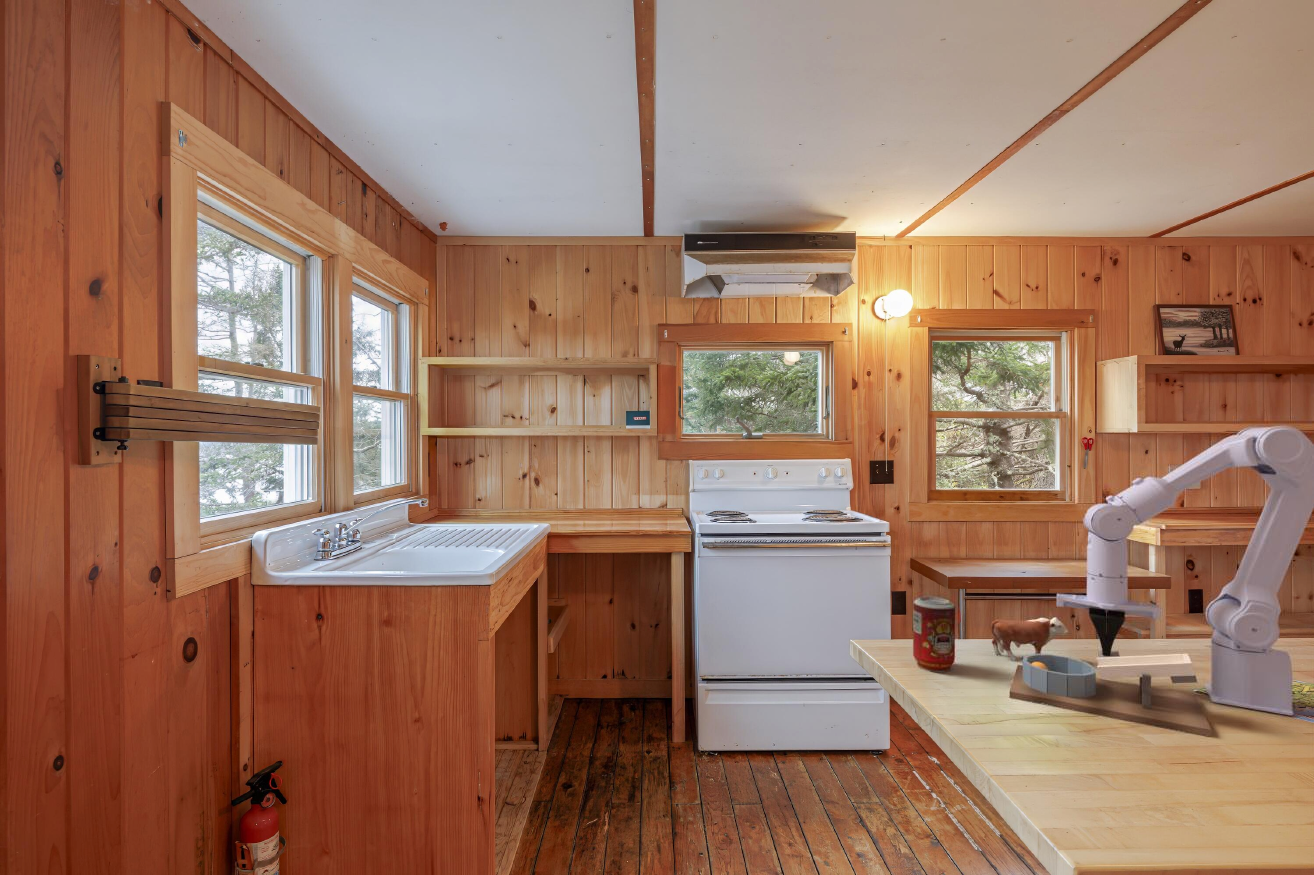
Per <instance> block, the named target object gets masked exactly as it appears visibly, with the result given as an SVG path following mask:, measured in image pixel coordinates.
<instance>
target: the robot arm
mask: <svg viewBox="0 0 1314 875" xmlns="http://www.w3.org/2000/svg"><path fill="white" fill-rule="evenodd" d="M1242 467H1243V468H1244V467H1250V468H1251V469H1252V470H1254V471H1255V472H1258V475H1260V477H1261V479H1263V481H1264V482H1265V483H1266V484H1267V485H1268V487H1269V488H1270V491H1269V494H1268V497H1267V500H1266V502H1265V504H1264V507H1263V508H1262V512H1261V514H1260V516H1259V518H1258V521H1257V522H1256V523H1257V524H1256V526H1255V528H1254V530H1253V533H1252V535H1251V538H1250V540H1249V543H1248V545H1247V547H1246V550H1245V552H1244V555H1243V557H1242V559H1241V562H1240V564H1239V567H1238V569H1237V571H1236V574H1235V576H1234V577H1233V578H1234V579H1232V581H1230V582H1228V583H1227V584H1226V585H1225V586H1223V587H1222V589H1221V592H1220V594H1218V596H1217V597H1216V598H1215V599H1213V600H1212V601H1210V602H1209V603H1208V605H1207V606H1206V608H1205V620H1206V622H1207V623H1208V624H1209V626H1210V627H1211V628H1212V629H1213V630H1214V631H1213V633H1212V635H1211V636H1210V637H1211V638H1210V639H1211V641H1210V642H1211V643H1210V644H1211V645H1210V646H1211V647H1210V648H1211V650H1210V654H1211V655H1210V657H1211V658H1210V661H1211V662H1210V668H1211V670H1210V677H1211V678H1210V681H1211V682H1210V684H1209V683H1208V684H1207V683H1206V684H1204V689H1205V690H1206V693H1207V695H1208V696H1209V698H1210V700H1211V702H1213V703H1217V704H1223V705H1228V706H1233V707H1240V708H1246V709H1252V710H1257V711H1263V712H1269V713H1274V714H1281V715H1284V716H1285V715H1286V716H1294V711H1293V666H1292V660H1291V656H1290V654H1289V653H1288V652H1287V651H1285V650H1280V649H1275V648H1272V646H1274V644H1276V643H1277V641H1278V639H1279V636H1280V626H1279V617H1280V614H1281V612H1282V611H1281V605H1280V602H1279V601H1280V600H1279V599H1278V598H1279V597H1278V592H1279V590H1280V587H1281V586H1282V583H1283V580H1284V578H1285V576H1286V574H1287V571H1288V569H1289V567H1290V564H1291V562H1292V560H1293V557H1294V555H1295V553H1296V550H1297V548H1298V546H1299V543H1300V541H1301V538H1302V536H1303V533H1304V531H1305V529H1306V527H1307V524H1308V522H1309V520H1310V517H1311V515H1312V513H1313V511H1314V443H1313V441H1311V440H1310V438H1308V436H1307V435H1306V434H1305V433H1303V432H1302V431H1301V430H1300V429H1297V428H1296V427H1293V426H1289V425H1277V426H1270V427H1269V426H1267V427H1266V426H1265V427H1264V426H1263V427H1262V426H1250V427H1247V428H1244V429H1242V430H1240V431H1239V432H1238V433H1236V434H1233V435H1230V436H1228V437H1225V438H1223V439H1221V440H1220V441H1218V442H1217V443H1215V444H1214V445H1211V446H1210V447H1209V448H1207V449H1205V450H1204V451H1203V452H1201V453H1199V454H1198V455H1196V456H1194V457H1193V458H1191V459H1189V460H1188V461H1186V462H1185V463H1183V464H1181V465H1180V466H1179V467H1177V468H1175V469H1174V470H1172V471H1171V472H1170V473H1167V474H1165V475H1164V476H1162V477H1160V478H1159V477H1155V476H1147V477H1145V478H1141V477H1137V478H1135V479H1134V480H1132V481H1131V483H1132V484H1133V485H1132V486H1130V487H1127V488H1126V489H1124V490H1123V491H1121V492H1119V493H1117V494H1116V495H1114V496H1113V495H1108V496H1106V498H1105V500H1106V502H1107V503H1097V504H1094V505H1092V506H1090V508H1088V509H1087V511H1086V513H1085V515H1084V517H1083V518H1082V522H1083V525H1084V527H1085V528H1086V530H1087V531H1088V532H1087V546H1086V595H1083V594H1066V593H1056V607H1059V608H1064V607H1067V608H1073V609H1074V608H1075V609H1080V610H1088V616H1089V618H1090V621H1091V622H1092V625H1093V626H1094V629H1095V631H1096V634H1097V637H1098V639H1099V642H1100V643H1099V644H1100V647H1101V652H1102V655H1105V656H1110V654H1111V651H1112V648H1113V645H1114V642H1115V639H1116V637H1117V635H1118V633H1119V631H1120V630H1121V628H1122V626H1123V625H1124V623H1125V621H1126V615H1129V616H1137V617H1145V618H1151V619H1153V620H1154V619H1155V620H1161V619H1162V617H1161V612H1162V611H1161V610H1162V609H1161V608H1162V607H1161V606H1160V605H1157V604H1151V603H1145V602H1138V601H1133V600H1128V579H1129V578H1128V568H1129V567H1128V566H1129V564H1128V560H1129V559H1128V554H1129V553H1128V537H1129V536H1130V535H1131V534H1132V533H1133V531H1134V527H1135V526H1139V525H1141V524H1144V523H1145V522H1146V521H1149V520H1150V519H1152V518H1154V517H1155V516H1157V515H1159V514H1161V513H1162V512H1164V511H1166V510H1168V509H1169V508H1171V507H1173V506H1174V505H1175V504H1176V500H1177V497H1178V494H1180V493H1181V492H1184V491H1185V490H1187V489H1189V488H1192V487H1193V486H1194V485H1197V484H1199V483H1201V482H1203V481H1205V480H1207V479H1209V478H1211V477H1212V476H1216V474H1219V473H1221V472H1222V471H1225V470H1227V469H1229V468H1242Z"/></svg>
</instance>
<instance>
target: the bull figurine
mask: <svg viewBox="0 0 1314 875" xmlns="http://www.w3.org/2000/svg"><path fill="white" fill-rule="evenodd" d="M990 632H991V634H992V636H993V639H992V641H991V644H992V647H993V653H994V654H995V655H996V654H999V655H1001V656H1002V653H1004V651H1005V652H1006V653H1007V656H1008V659H1011V660H1012V659H1014V660H1013V661H1018V658H1017V657H1016V655H1014V653H1013V652H1012V649H1011V643H1013V644H1014V645H1015V646H1016V648H1017V649H1018V648H1020V647H1021V646H1022V645H1031V646H1033V648H1034V650H1035V651H1034V654H1042V648H1043V647H1045V646H1046V645H1048V643H1049V642H1050V641H1053V638H1054V637H1060V636H1061V635H1063V636H1068V635H1069V633H1070V632H1069V630H1068V629H1067V628H1066V626H1065V625H1064V623H1063V622H1062V621H1060V620H1059V618H1058V617H1053V618H1052V619H1048V618H1046V617H1040V618H1037V619H1029V620H1009V619H995V620H994V621H992V622H991V624H990Z"/></svg>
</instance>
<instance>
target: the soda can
mask: <svg viewBox="0 0 1314 875" xmlns="http://www.w3.org/2000/svg"><path fill="white" fill-rule="evenodd" d="M912 610H913V612H912V613H913V617H912V619H913V624H912V625H913V626H912V628H913V631H912V633H913V635H912V636H913V638H912V639H913V642H912V651H913V654H912V655H913V658H914V659H915V662H916V665H917V667H918V668H920V669H922V670H925V671H929V672H935V673H946V672H949V671H951V667H952V665H953V664H954V663H955V658H956V606H955V605H954V603H953V602H952V601H950V600H948V599H945V598H942V597H936V596H927V595H926V596H921V597H917V599H915V600H914V601H913V609H912Z"/></svg>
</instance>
